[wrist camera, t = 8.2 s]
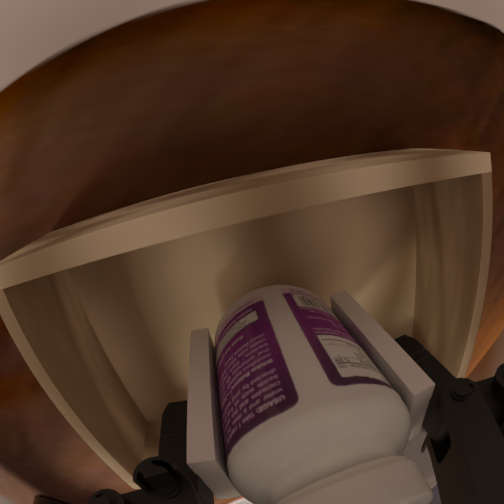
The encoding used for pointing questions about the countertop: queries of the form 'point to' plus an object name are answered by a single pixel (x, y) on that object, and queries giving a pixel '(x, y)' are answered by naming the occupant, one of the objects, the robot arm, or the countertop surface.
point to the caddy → (245, 277)
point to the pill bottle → (308, 408)
